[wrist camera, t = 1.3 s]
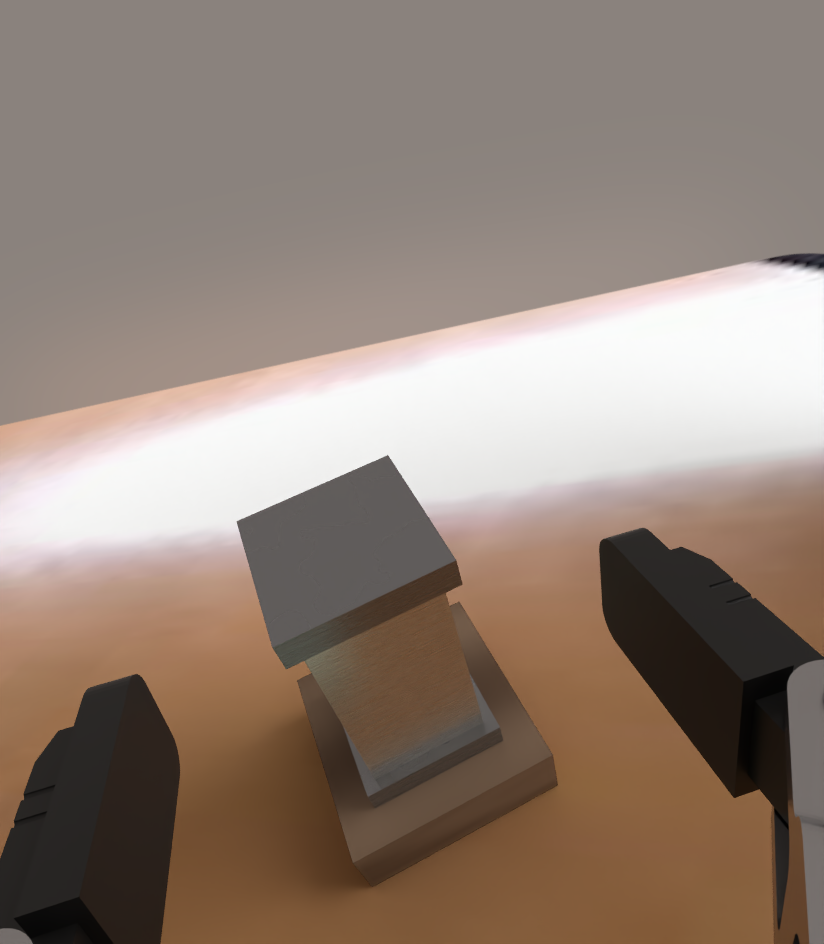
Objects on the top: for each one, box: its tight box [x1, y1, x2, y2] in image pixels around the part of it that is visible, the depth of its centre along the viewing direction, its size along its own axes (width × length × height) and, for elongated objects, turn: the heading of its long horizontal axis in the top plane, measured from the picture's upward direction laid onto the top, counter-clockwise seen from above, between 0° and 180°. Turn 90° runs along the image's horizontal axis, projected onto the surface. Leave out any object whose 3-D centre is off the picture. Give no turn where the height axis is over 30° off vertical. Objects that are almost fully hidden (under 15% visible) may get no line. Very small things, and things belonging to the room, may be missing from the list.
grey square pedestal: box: [237, 455, 503, 808], centre depth 25 cm, size 6×6×12 cm
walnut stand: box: [297, 602, 558, 887], centre depth 30 cm, size 9×9×3 cm
